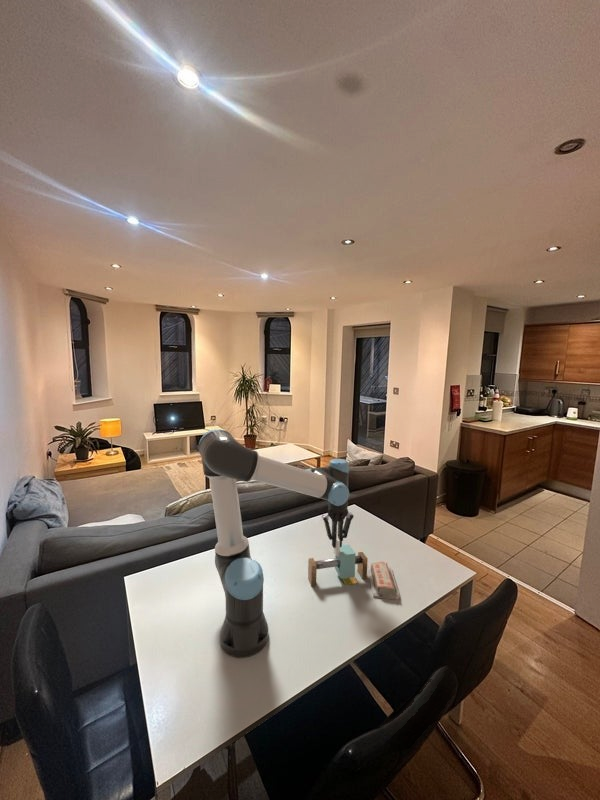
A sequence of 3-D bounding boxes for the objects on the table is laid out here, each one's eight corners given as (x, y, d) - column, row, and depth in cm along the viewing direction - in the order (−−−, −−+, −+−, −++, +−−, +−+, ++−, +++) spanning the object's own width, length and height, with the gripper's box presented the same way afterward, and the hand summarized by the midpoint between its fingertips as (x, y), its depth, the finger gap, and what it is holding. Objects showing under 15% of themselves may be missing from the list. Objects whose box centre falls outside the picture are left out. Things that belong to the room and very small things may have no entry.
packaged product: (400, 588, 122) (373, 586, 123) (400, 600, 123) (373, 598, 123) (391, 559, 140) (367, 558, 141) (390, 570, 140) (367, 568, 141)
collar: (348, 566, 138) (349, 544, 137) (354, 576, 132) (355, 553, 131) (334, 568, 137) (335, 546, 136) (340, 578, 130) (341, 555, 129)
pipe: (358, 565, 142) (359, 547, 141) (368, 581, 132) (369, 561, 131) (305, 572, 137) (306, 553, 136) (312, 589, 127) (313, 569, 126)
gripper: (350, 493, 135) (348, 547, 138) (319, 495, 132) (318, 551, 135) (357, 500, 128) (355, 557, 130) (325, 503, 125) (323, 561, 127)
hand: (336, 554), depth 133 cm, fingers closed
